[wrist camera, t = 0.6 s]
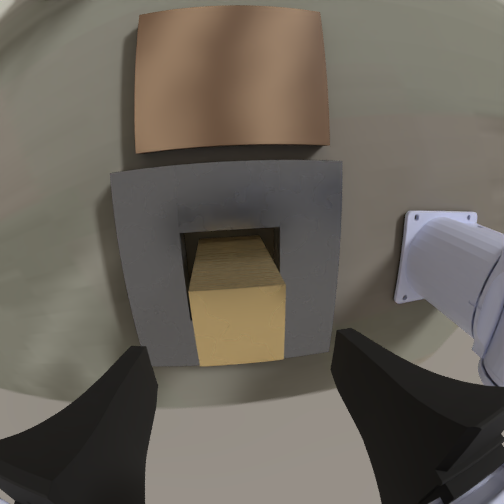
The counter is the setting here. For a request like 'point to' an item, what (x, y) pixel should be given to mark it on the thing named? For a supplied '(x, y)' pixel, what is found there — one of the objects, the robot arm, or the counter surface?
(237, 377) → the counter surface
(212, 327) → the brass peg
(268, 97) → the walnut board
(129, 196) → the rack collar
